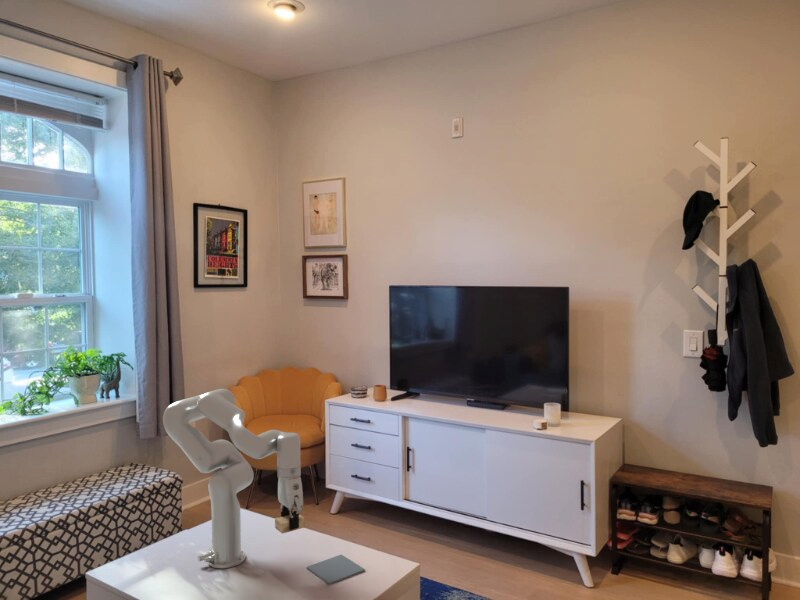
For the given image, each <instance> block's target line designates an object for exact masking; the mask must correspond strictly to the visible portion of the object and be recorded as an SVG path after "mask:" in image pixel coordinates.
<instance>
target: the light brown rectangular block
mask: <svg viewBox="0 0 800 600" xmlns="http://www.w3.org/2000/svg"><path fill="white" fill-rule="evenodd" d="M289 518H290V515H287V516H283V517H281V516H279V517H275V518H274V528H275V529H276V531H278V532H279V533H281V534H286V533H289V532H294V531H297V530H300V529H304V528H305V524H306V522H305V521H306V520H305V519H306V518H305V517H304V516H303V515H301V513H300V514H299V528H297V529H293V530H290V529H289Z"/></svg>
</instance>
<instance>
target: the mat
mask: <svg viewBox="0 0 800 600" xmlns="http://www.w3.org/2000/svg"><path fill="white" fill-rule="evenodd" d="M305 568H306V570H308V571H309V572H311V573H312V574H313V575H314V576H316V577H317V578H318V579H320V580H321V581H323V582H324V583H325V584H327V585H329V586H330V585H334V584H335V583H338V582H340V581H343V580H346V579H348V578H351V577H353V576H356V575H358V574H360V573H363V572H366V569H365V568H364V567H362V566H361V565H359V564H357V563H356V562H355V561H352V560H351V559H349V558H348V557H346V556H345V555H343V554H339V555H336V556H333V557H330V558H327V559H324V560H322V561H318V562H316V563H313V564H311V565H307V566H306V567H305Z"/></svg>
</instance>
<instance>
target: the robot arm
mask: <svg viewBox="0 0 800 600" xmlns="http://www.w3.org/2000/svg"><path fill="white" fill-rule="evenodd" d="M205 418H207V419H208V420H210V421H212V422H213V423H214V424H216V425H217V426H219V427H221V429H223V430H224V431H226V432H227V433H228V436H229V438H230V440H231V442H230V441H229V440H226V439H222V438H220V439H216V440H213V441H210V440H208V439H209V438H207V437H206V436H205V434H203V432H202V431H201V430H199V429H198V428H196V427H194V426H193V425H191V424H190V423H192V422H196V421H199V420H201V419H205ZM245 419H246V412H245V411H244V409H242V408H240V407H239V406H237V405H236V397H235V395H234V393H233V392H232V391H231V390H229V389H227V388H218V389H215V390H211V391H207V392H204V393H203V394H200V395H195V396H192V397H191V396H190V397H188V398H184V399H181V400H177V401H175V402H173V403H171V404H169V405H168V406H166V408H165V409H164V412H163V417H162V424H163V427H164V430H165V433H166V434H167V435H168V436H169V438H171V440H172V441H173V442H174V443H175V444H176V445H178V447H179V448H180V449H181V450H182V452H183V453H184V454H185V455H186V457H187V458H188V459H189V461H190V462H191V463H192V464H193V466H194V467H195V468H196V469H197V471H199V472H200V473H201V474H202V473H203V474H209V473H212V472H214V471H216V470H217V471H216V472H214V473H213V474H212V475H211V476H210V479H209V481H208V482H207V483H208V484H207V485H208V493H209V494H208V495H209V499H210V505H211V506H210V510H211V511H210V512H211V547H210V548H209V549H208V551H207V552H206V553H205V554H199V555H197V561H198V562H203V561H204V563H207V564H208V566H209V567H211V568H215V569H229V568H233V567H236V566H238V565H240V564H242V563H244V562H245V560H246V552H245V551H244V550H242V540H241V539H242V534H241V531H242V530H241V529H242V527H241V526H242V525H241V504H240V501H239V499H238V497H237V494H238V493H239V492H240V491H242V490H244V489H246V488H247V487H249V486H250V485H251V484H252V483H253V480H254V478H255V477H254V475H255V474H254V471H253V468H252V466H251V464H250V463H249V462H248V461H247V460H246V459H245V457H244V455H242V453H244V454H245V455H247V456H248V457H250V458H251V459H255V460H260V459H264V458H266V457H269V456H271V455H273V454H276V456H277V459H276V461H277V463H276V467H277V468H276V469H277V479H278V481H277V500H278V502H279V505H280V508H279V510H280V517H283V516H287V515H290V518H289V529H290V530H293V529H297V528H299V514H300V515H301V512H302V510H303V509H302V507H303V506H304V496H303V495H304V492H303V483H302V478H301V475H302V474H301V473H302V472H301V463H302V462H301V437H300V435H299V434H298V433H297V432H285V431H283V430H278V429H269V430H267V431H264V432H262V433H260V434H257V435H256V434H255V433H253V432H252V431H250V430H249V429H248V428H246V427H245V425H243V423H244V422H245ZM240 451H241V452H242V453H241V452H240ZM220 468H221V469H220ZM297 530H298V529H297Z"/></svg>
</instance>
